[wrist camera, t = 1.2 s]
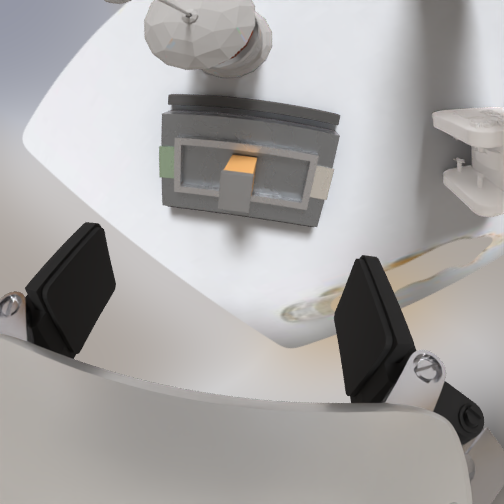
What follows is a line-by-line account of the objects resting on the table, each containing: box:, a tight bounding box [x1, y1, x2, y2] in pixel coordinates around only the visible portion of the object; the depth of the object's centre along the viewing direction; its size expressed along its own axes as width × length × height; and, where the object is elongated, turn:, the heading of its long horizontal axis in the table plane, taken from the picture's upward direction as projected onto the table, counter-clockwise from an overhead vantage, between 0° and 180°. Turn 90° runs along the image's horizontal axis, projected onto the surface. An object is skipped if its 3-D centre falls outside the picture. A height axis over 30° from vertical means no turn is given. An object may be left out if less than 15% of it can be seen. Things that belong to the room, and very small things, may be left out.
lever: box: [218, 155, 257, 213], centre depth 29 cm, size 4×3×6 cm
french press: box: [105, 0, 272, 78], centre depth 14 cm, size 10×12×25 cm
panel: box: [159, 110, 340, 227], centre depth 32 cm, size 12×20×4 cm, turn 83°
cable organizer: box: [432, 107, 504, 217], centre depth 23 cm, size 15×11×12 cm
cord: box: [168, 94, 340, 125], centre depth 29 cm, size 1×20×1 cm, turn 83°
